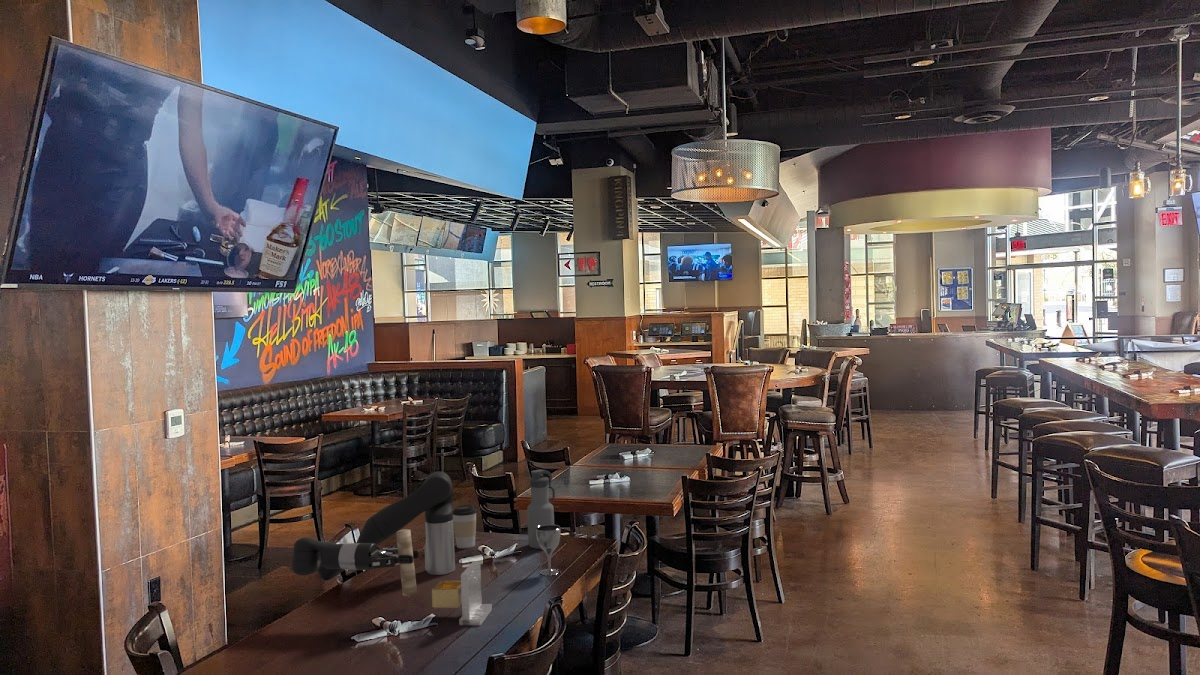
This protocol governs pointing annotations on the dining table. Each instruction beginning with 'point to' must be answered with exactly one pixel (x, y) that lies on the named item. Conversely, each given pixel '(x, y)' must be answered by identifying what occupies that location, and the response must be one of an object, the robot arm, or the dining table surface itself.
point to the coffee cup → (465, 525)
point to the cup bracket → (463, 596)
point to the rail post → (406, 569)
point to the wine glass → (548, 544)
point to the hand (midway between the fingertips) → (415, 556)
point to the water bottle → (539, 504)
